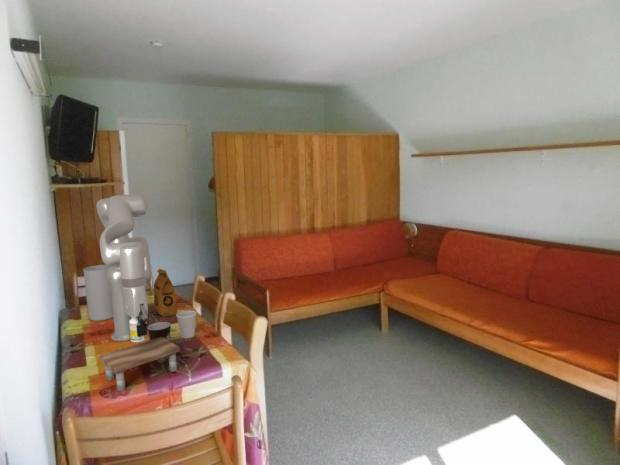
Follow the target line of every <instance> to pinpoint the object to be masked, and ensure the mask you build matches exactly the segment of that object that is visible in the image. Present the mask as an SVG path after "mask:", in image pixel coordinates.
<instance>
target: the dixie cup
mask: <svg viewBox="0 0 620 465" xmlns="http://www.w3.org/2000/svg"><path fill="white" fill-rule="evenodd" d="M175 316H176V317H177V318H176V319H177V324H178V328H179V333H180V337H181V338H182V339H190V338H193V337H195V336H196V335H195V334H196V317H197V312H196V311H195V310H190V309H189V310H182V311H180V312H177V314H176V315H175Z"/></svg>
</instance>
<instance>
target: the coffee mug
mask: <svg viewBox="0 0 620 465" xmlns="http://www.w3.org/2000/svg"><path fill="white" fill-rule="evenodd" d="M171 326H172V325H171V322H167V321H161V322H155V323H151V324H149V325H147V334H148V338H149V340H153V339H156V338H159V337H163V338H165V339H167V340H168V341H170V342H171V330H172V328H171Z"/></svg>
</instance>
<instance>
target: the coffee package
mask: <svg viewBox="0 0 620 465" xmlns="http://www.w3.org/2000/svg"><path fill="white" fill-rule="evenodd" d="M157 273H158V275H157V277H156V279H155V280H154V282H153V298H154V301H153V302H154V306H155V311H156V312H157V313H158V314H159V315H160V316H161V317H163V318H165V317H171V316H176V314H177V313H178V305H177V304H178V303H177V294H176V292H175V291H176V290H175V288H174V285H173V283H172V281H171V279H170V277H169V275H168V274H167V271H166V270H164V269H161V268H159V269H157Z"/></svg>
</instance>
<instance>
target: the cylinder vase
mask: <svg viewBox="0 0 620 465" xmlns="http://www.w3.org/2000/svg"><path fill="white" fill-rule="evenodd" d="M110 267H112V266H108V265H106V264H97V265H91V266H87V267H85V268H83V277H84V279H83V280H84V288H85V294H86V305H87V314H88V316H87V317H88V319H89V320H90V321H94V322H99V321H101V322H102V321H106V320H109V319H114V317H113V307H112V298H111V291H110V286H109V283H108V279H107V271H108V269H109V268H110Z"/></svg>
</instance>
